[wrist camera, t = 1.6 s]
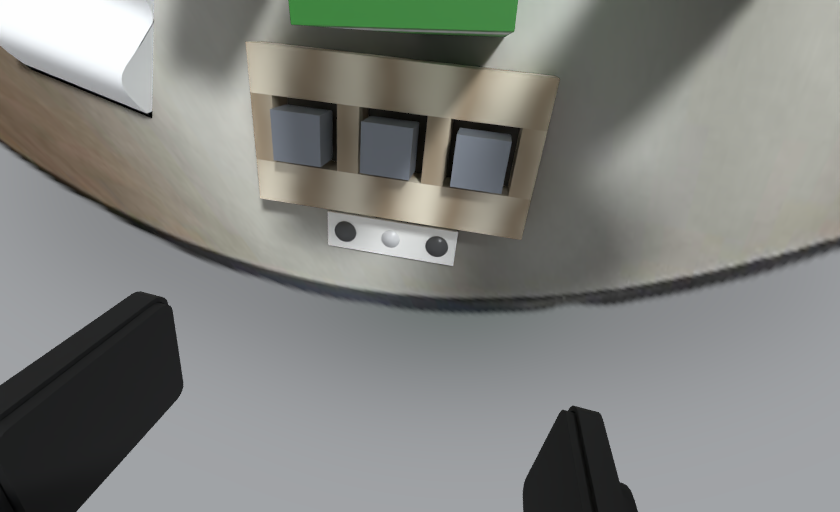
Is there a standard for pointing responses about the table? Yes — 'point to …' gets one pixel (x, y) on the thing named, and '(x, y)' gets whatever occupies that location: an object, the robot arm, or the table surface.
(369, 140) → the middle button
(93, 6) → the file organizer
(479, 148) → the button
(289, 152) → the button
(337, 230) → the pattern card
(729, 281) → the table surface
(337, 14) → the hardback book
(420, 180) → the button board
